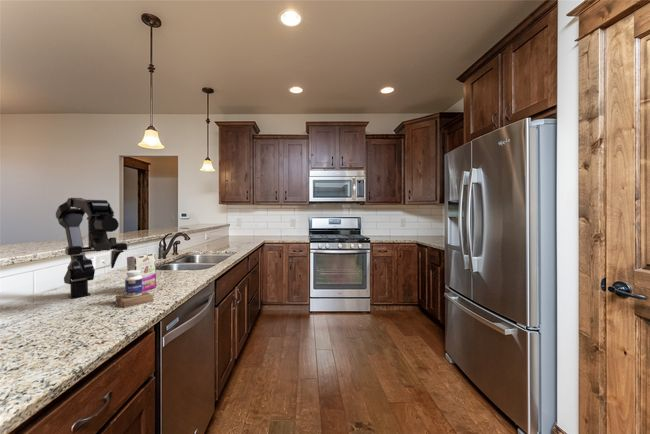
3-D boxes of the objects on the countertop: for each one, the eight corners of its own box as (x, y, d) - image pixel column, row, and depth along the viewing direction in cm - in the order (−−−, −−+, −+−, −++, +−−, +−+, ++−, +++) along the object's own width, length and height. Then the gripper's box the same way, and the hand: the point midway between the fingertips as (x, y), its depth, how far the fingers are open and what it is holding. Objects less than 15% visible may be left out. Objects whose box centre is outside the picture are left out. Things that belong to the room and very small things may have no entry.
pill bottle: (127, 298, 109) (127, 273, 109) (123, 295, 112) (122, 271, 112) (144, 295, 113) (144, 270, 113) (139, 292, 117) (139, 268, 117)
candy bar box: (147, 286, 135) (147, 253, 135) (156, 287, 134) (156, 253, 134) (126, 293, 124) (126, 256, 124) (136, 294, 123) (135, 257, 123)
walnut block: (115, 302, 112) (115, 296, 112) (143, 296, 120) (143, 290, 120) (124, 307, 106) (123, 301, 106) (153, 301, 114) (153, 295, 114)
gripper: (70, 233, 100) (71, 277, 100) (131, 230, 114) (132, 268, 115) (64, 232, 107) (65, 272, 107) (122, 229, 121) (123, 265, 122)
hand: (98, 269), depth 112 cm, fingers open, 9 cm apart
